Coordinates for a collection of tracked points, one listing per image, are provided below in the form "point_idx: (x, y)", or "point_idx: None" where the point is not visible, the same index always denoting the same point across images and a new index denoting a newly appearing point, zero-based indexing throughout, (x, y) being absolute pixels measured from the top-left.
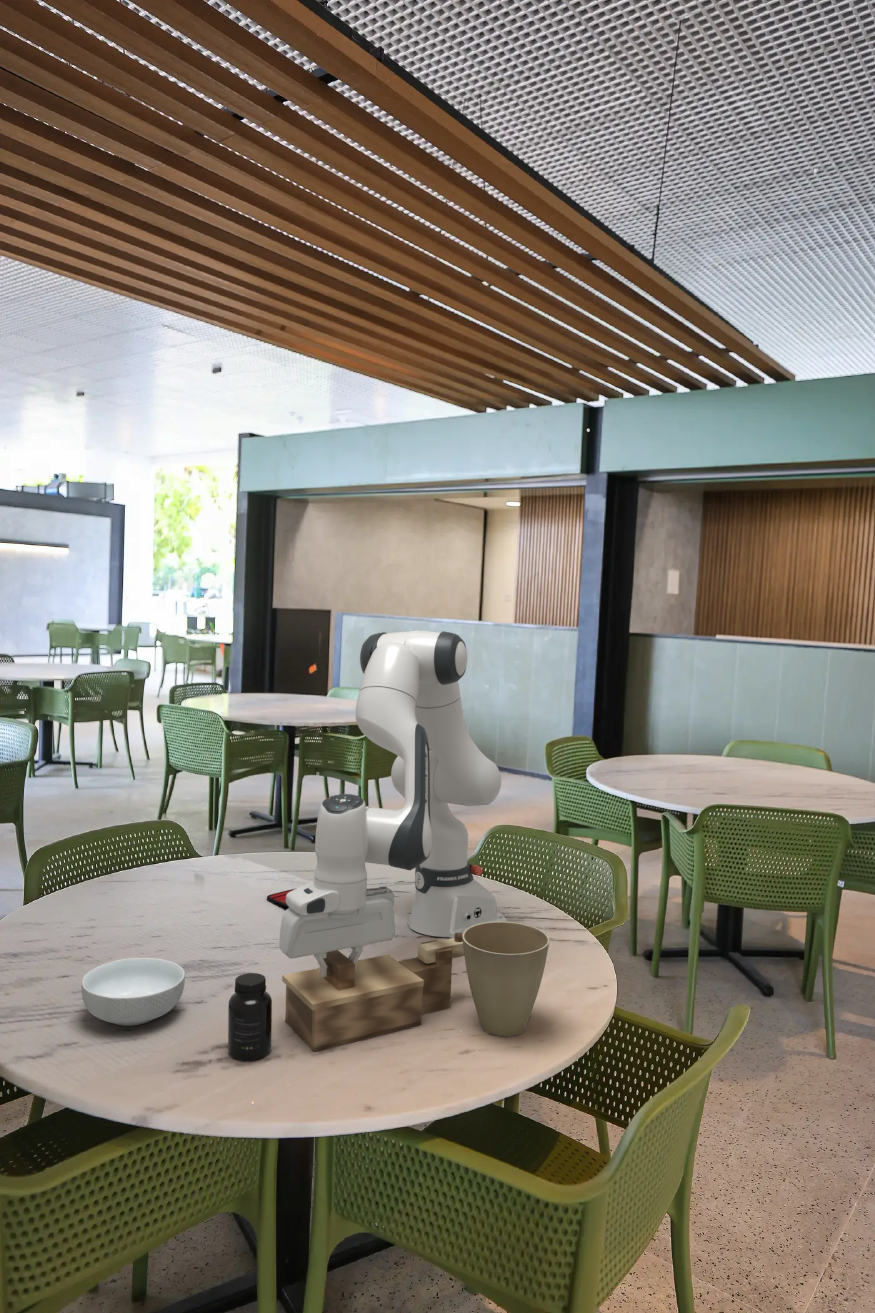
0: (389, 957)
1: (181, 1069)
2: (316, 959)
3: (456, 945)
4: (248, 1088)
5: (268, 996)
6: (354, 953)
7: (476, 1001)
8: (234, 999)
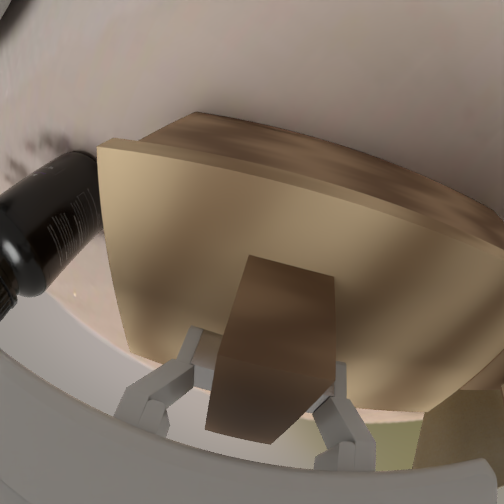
0: None
1: (10, 177)
2: (146, 379)
3: None
4: (71, 272)
5: (32, 291)
6: (333, 436)
7: (434, 416)
8: None
